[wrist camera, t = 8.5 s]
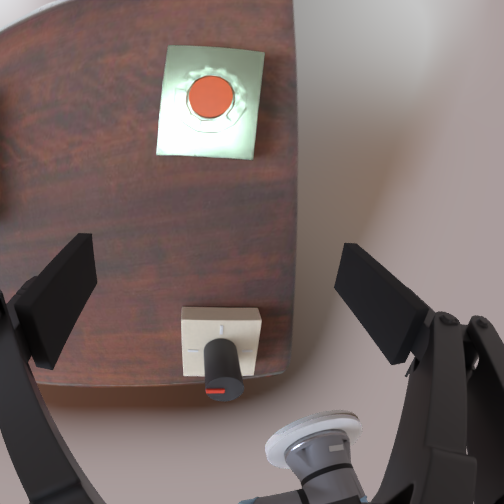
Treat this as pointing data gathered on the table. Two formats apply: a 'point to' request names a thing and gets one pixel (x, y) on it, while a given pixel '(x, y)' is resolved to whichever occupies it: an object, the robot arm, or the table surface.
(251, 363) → the knob panel
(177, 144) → the button box
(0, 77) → the table surface
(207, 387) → the knob
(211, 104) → the button
